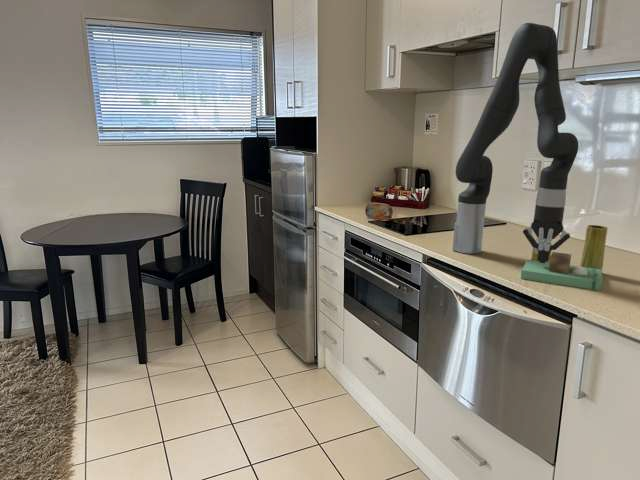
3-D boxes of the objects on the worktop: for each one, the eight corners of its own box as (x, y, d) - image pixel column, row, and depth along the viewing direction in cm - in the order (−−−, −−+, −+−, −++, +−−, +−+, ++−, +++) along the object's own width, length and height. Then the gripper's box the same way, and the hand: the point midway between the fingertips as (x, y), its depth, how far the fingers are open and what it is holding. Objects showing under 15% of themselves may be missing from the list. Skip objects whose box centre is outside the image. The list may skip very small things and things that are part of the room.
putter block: (548, 271, 135) (550, 257, 134) (550, 264, 141) (552, 251, 140) (568, 274, 132) (570, 260, 131) (569, 267, 139) (571, 254, 138)
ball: (589, 269, 131) (581, 281, 131) (591, 272, 134) (584, 284, 134) (575, 262, 134) (567, 274, 134) (577, 266, 137) (570, 278, 137)
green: (520, 278, 136) (521, 270, 135) (526, 267, 148) (527, 259, 147) (600, 290, 126) (602, 281, 126) (600, 277, 138) (601, 269, 137)
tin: (364, 218, 226) (365, 201, 224) (369, 217, 228) (369, 200, 226) (389, 223, 215) (389, 205, 213) (393, 222, 217) (394, 204, 215)
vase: (580, 274, 141) (587, 227, 138) (577, 269, 146) (584, 224, 143) (603, 276, 139) (611, 229, 136) (599, 271, 144) (607, 225, 141)
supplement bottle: (544, 262, 153) (547, 233, 151) (552, 267, 148) (556, 237, 145) (527, 262, 153) (531, 233, 150) (535, 267, 147) (539, 237, 145)
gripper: (576, 204, 135) (568, 263, 139) (526, 200, 141) (519, 256, 145) (575, 208, 128) (566, 269, 132) (523, 203, 134) (516, 261, 138)
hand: (542, 262), depth 138 cm, fingers closed
